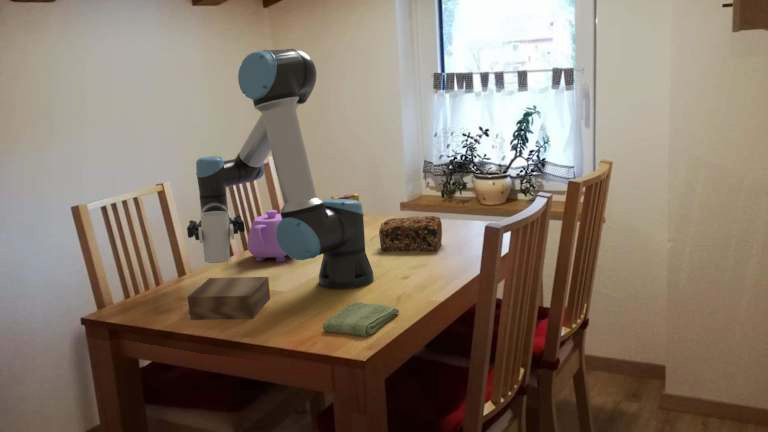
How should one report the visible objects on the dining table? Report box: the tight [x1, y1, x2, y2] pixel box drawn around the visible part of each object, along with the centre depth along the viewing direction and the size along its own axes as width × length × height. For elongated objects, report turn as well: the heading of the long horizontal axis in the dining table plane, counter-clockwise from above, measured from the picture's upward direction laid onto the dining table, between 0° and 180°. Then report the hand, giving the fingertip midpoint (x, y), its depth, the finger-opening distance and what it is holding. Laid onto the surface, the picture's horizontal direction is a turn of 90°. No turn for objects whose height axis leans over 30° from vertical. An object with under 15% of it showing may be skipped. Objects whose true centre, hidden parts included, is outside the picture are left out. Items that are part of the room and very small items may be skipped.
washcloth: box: [322, 301, 400, 338], centre depth 189 cm, size 13×18×3 cm
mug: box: [200, 211, 231, 264], centre depth 203 cm, size 10×7×12 cm, turn 158°
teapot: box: [246, 209, 287, 263], centre depth 250 cm, size 20×20×15 cm
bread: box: [378, 215, 443, 253], centre depth 254 cm, size 19×11×10 cm, turn 77°
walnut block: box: [187, 276, 271, 321], centre depth 204 cm, size 16×16×6 cm
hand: (216, 236), depth 198 cm, fingers closed on mug, 7 cm apart
